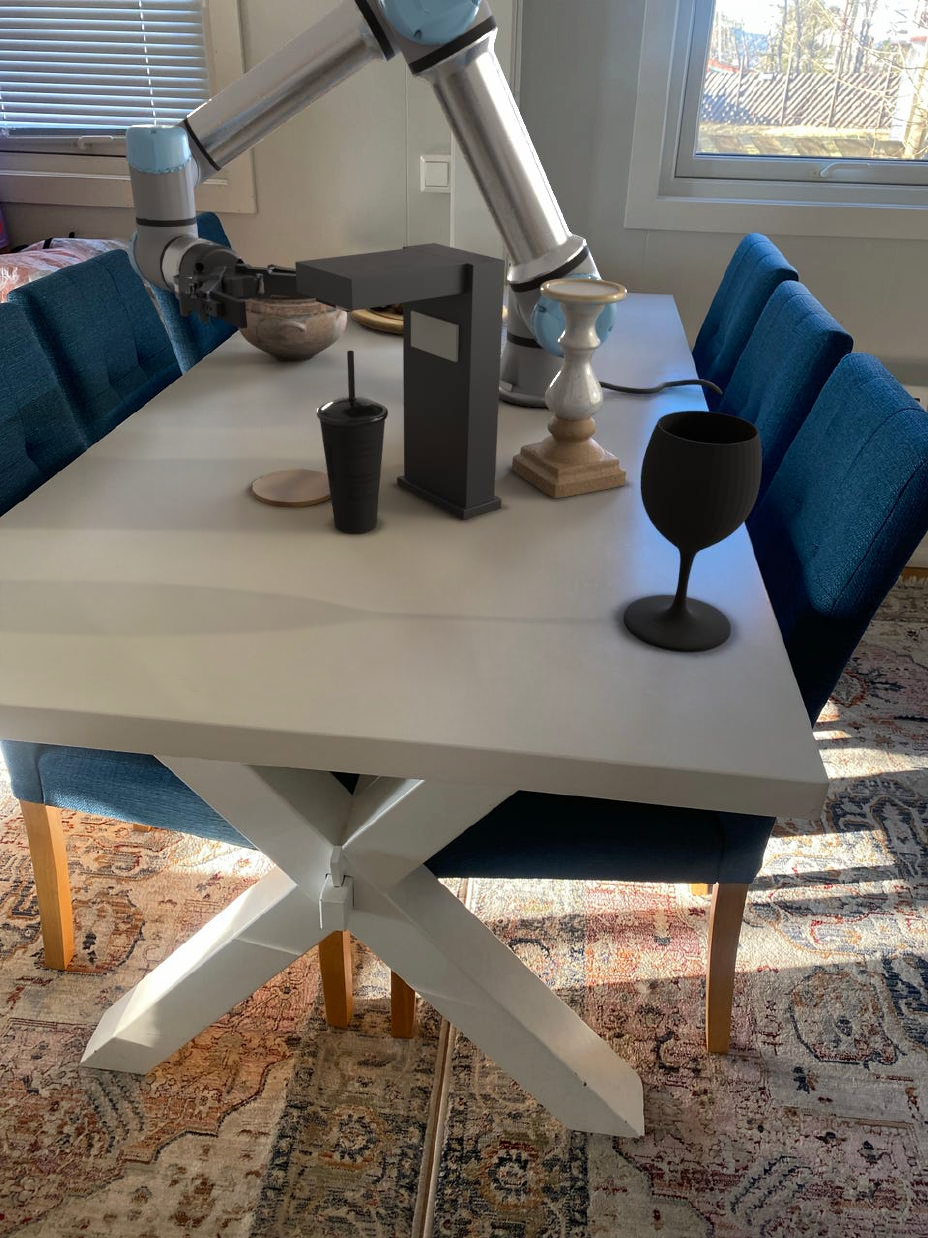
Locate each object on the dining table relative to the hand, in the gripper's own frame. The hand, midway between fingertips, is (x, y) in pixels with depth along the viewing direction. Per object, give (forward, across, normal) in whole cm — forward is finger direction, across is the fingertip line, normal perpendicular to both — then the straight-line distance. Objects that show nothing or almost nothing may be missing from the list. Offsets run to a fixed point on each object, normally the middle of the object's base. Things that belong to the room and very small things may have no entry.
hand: (298, 307), depth 107 cm
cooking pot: (-54, -32, -23) cm, 67 cm away
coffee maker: (+10, -7, -23) cm, 26 cm away
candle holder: (+14, -30, -23) cm, 40 cm away
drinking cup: (+10, 0, -23) cm, 25 cm away
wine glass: (+47, -12, -23) cm, 54 cm away
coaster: (-3, 0, -23) cm, 23 cm away
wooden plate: (-62, -68, -23) cm, 95 cm away
